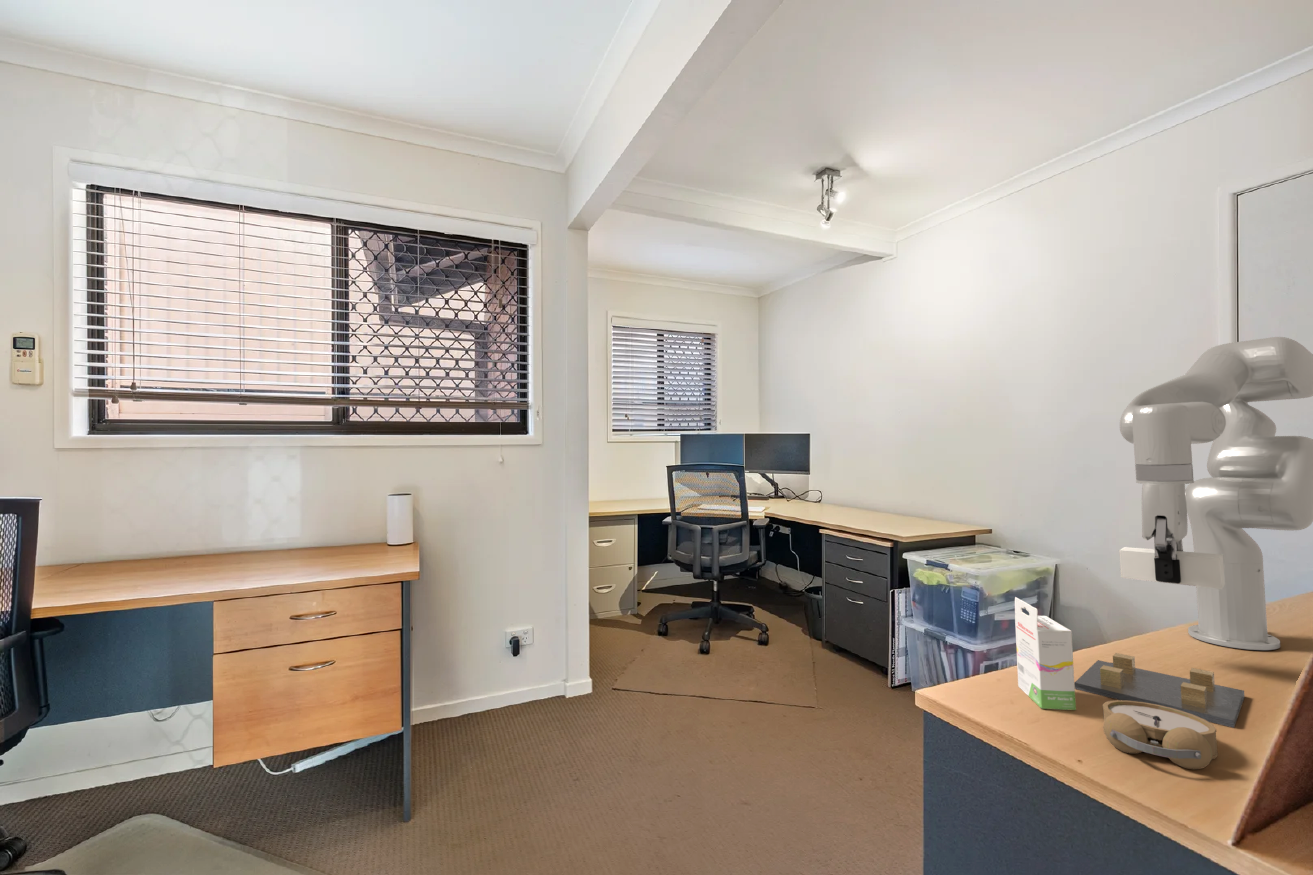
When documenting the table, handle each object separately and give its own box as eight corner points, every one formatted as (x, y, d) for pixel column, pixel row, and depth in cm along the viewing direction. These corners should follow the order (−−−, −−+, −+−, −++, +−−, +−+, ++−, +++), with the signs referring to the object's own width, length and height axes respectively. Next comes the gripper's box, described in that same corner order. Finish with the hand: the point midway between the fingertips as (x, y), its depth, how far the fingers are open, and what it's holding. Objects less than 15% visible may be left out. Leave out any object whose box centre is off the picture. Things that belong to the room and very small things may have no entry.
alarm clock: (1215, 716, 75) (1217, 738, 65) (1217, 756, 75) (1220, 785, 64) (1107, 693, 83) (1093, 710, 72) (1108, 729, 82) (1094, 752, 72)
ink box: (1078, 711, 84) (1073, 610, 84) (1041, 709, 84) (1035, 609, 85) (1050, 687, 92) (1045, 595, 92) (1016, 686, 93) (1012, 595, 93)
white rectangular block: (1126, 573, 105) (1124, 546, 105) (1224, 584, 95) (1222, 554, 95) (1121, 577, 103) (1119, 550, 103) (1221, 589, 93) (1219, 558, 93)
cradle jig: (1098, 665, 100) (1097, 645, 100) (1244, 697, 86) (1243, 673, 86) (1074, 688, 91) (1073, 666, 91) (1234, 727, 77) (1232, 701, 78)
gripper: (1146, 471, 108) (1152, 568, 107) (1125, 477, 97) (1132, 585, 97) (1200, 471, 102) (1207, 573, 102) (1184, 478, 91) (1192, 592, 91)
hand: (1170, 578), depth 99 cm, fingers closed on white rectangular block, 4 cm apart
